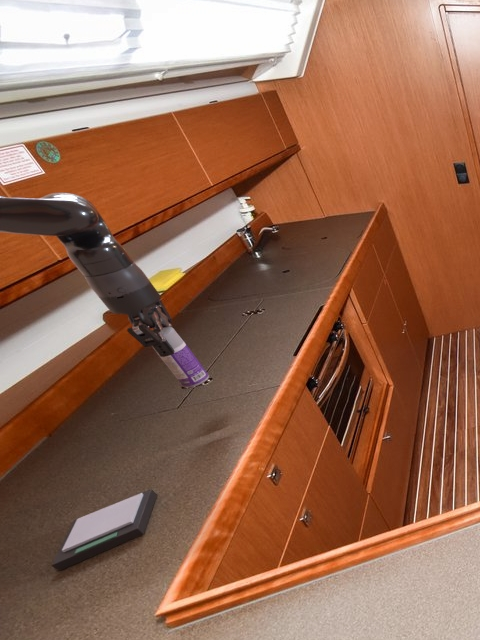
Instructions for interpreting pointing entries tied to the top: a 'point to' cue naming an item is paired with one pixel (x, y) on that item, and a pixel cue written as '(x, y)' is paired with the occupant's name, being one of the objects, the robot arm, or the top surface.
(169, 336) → the container
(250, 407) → the top surface
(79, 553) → the scale
